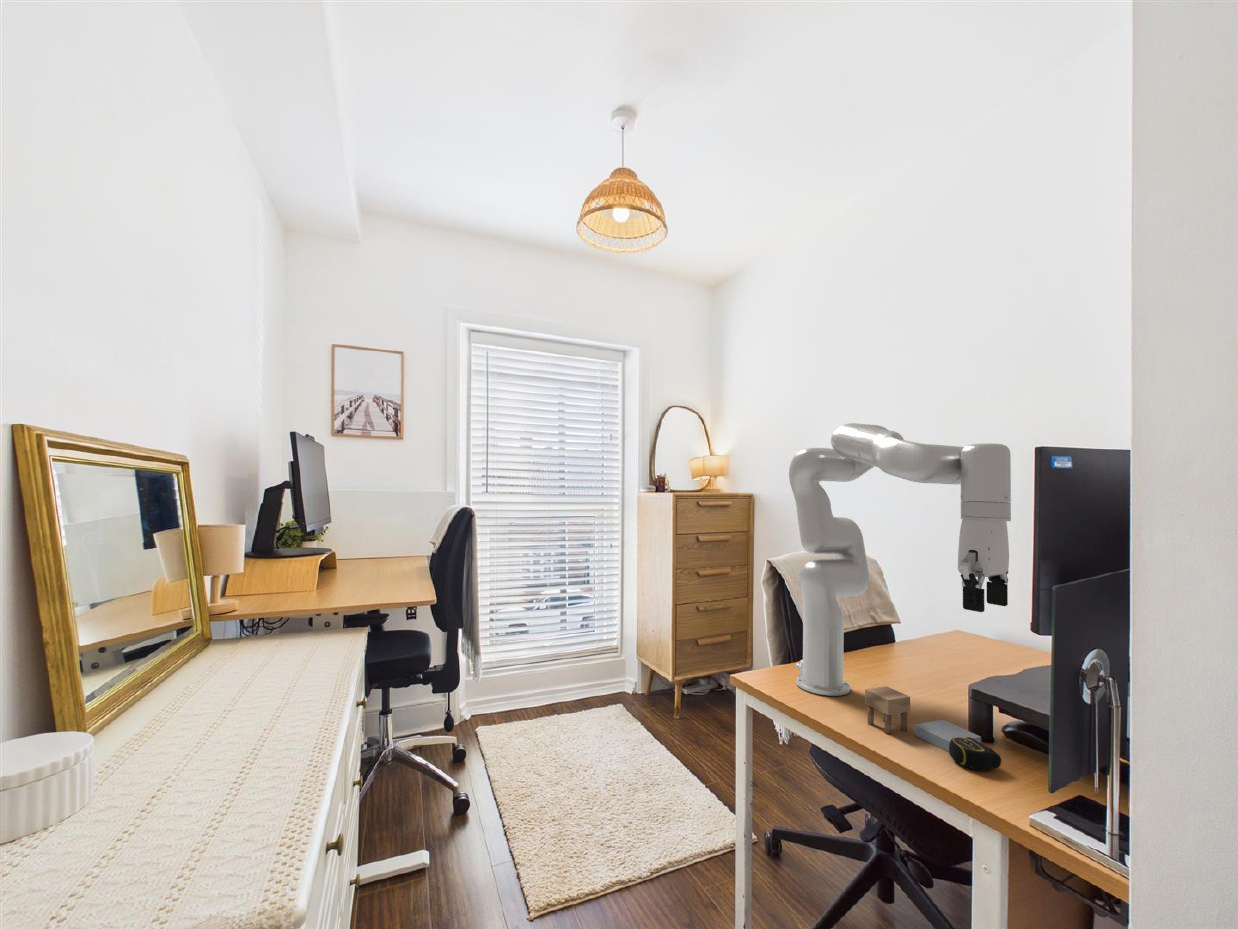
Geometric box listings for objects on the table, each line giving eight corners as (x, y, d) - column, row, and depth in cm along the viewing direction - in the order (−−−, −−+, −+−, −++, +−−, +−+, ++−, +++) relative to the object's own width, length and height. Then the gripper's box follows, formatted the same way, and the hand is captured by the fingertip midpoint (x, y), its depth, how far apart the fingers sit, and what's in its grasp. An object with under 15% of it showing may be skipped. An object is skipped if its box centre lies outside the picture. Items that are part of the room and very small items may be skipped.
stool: (864, 722, 114) (865, 689, 114) (886, 719, 116) (886, 686, 116) (888, 735, 108) (888, 700, 108) (910, 731, 110) (910, 696, 110)
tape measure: (1003, 774, 94) (1003, 752, 95) (968, 775, 94) (968, 754, 94) (972, 754, 101) (973, 734, 101) (940, 756, 100) (940, 735, 100)
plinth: (914, 734, 109) (914, 724, 109) (943, 729, 111) (943, 719, 111) (951, 753, 101) (951, 742, 101) (981, 747, 104) (981, 736, 104)
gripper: (982, 510, 105) (982, 599, 104) (940, 511, 95) (940, 608, 94) (1028, 513, 99) (1029, 606, 98) (988, 513, 89) (988, 617, 88)
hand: (985, 607), depth 96 cm, fingers open, 9 cm apart
